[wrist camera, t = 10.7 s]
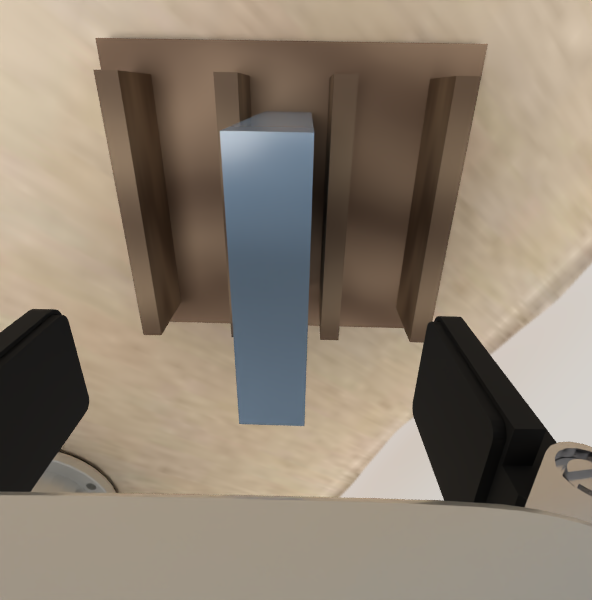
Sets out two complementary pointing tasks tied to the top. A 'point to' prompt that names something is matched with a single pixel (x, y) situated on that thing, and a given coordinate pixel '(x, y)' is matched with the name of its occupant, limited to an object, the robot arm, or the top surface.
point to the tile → (269, 260)
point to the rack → (326, 168)
